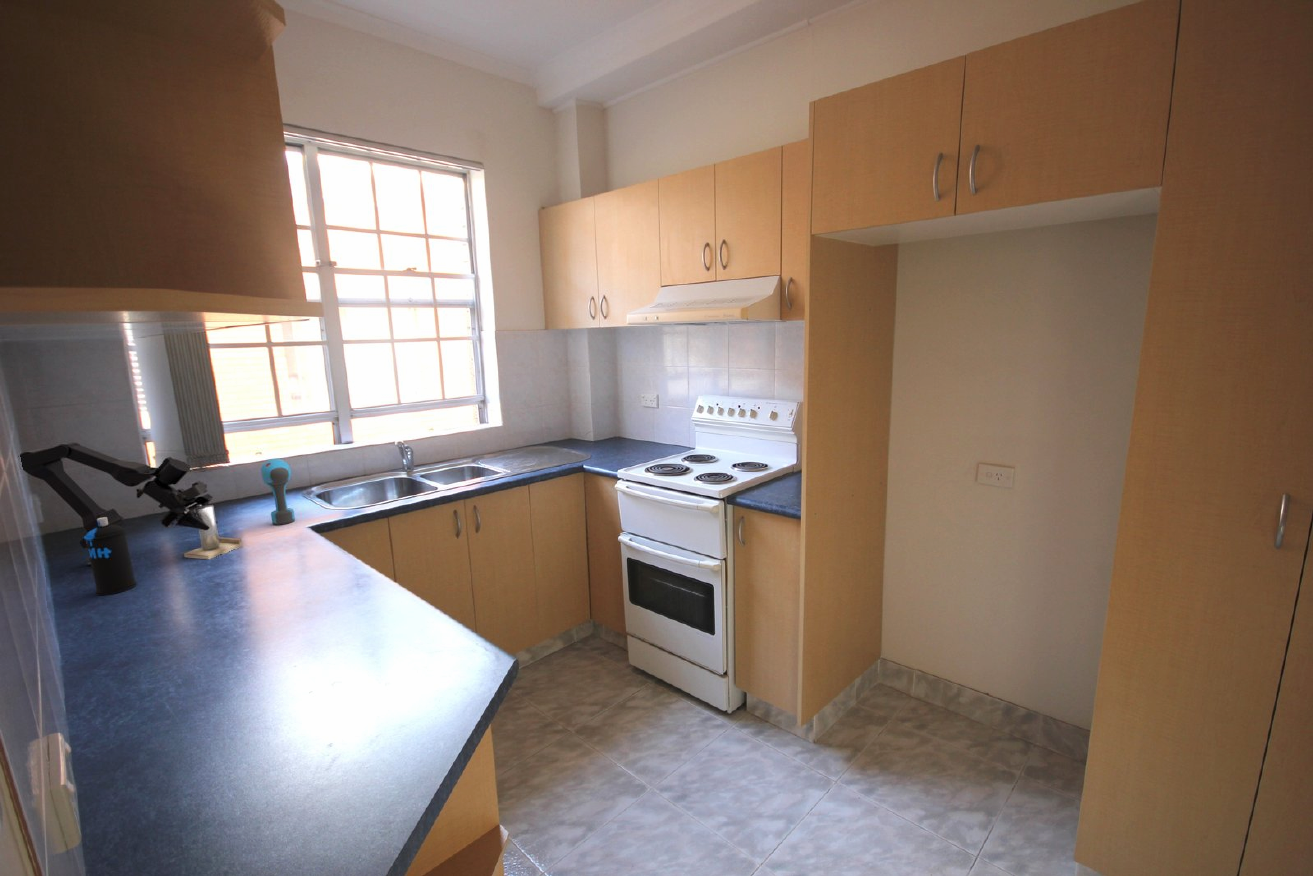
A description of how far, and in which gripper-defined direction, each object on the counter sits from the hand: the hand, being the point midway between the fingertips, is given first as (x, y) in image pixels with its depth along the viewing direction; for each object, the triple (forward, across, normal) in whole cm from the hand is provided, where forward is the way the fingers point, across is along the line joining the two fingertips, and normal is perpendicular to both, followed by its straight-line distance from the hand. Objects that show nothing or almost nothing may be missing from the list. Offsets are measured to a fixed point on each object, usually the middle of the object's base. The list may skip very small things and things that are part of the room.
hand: (212, 526), depth 182 cm
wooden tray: (+5, 0, +7) cm, 8 cm away
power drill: (+10, +32, +2) cm, 34 cm away
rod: (+4, 0, +6) cm, 7 cm away
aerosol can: (-3, -24, +15) cm, 29 cm away
